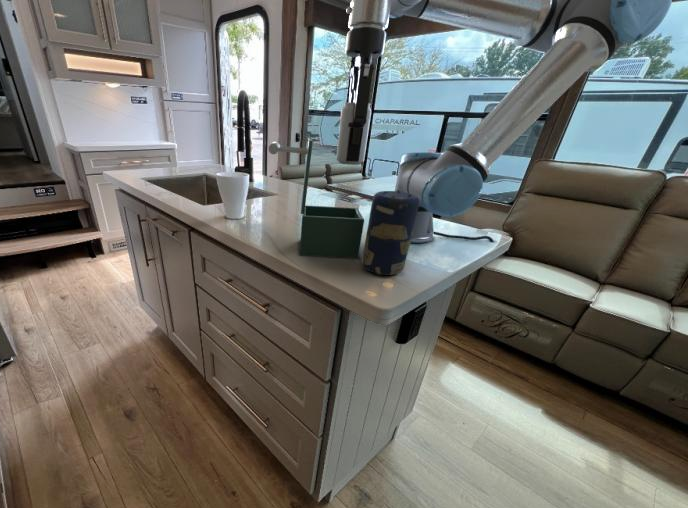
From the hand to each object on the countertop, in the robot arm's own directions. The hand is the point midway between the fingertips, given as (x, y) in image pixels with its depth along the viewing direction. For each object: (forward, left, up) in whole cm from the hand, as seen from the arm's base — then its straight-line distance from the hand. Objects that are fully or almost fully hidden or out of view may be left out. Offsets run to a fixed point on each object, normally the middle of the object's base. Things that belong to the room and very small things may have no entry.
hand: (350, 159), depth 73 cm
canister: (-9, +12, -22) cm, 27 cm away
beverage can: (0, 0, -1) cm, 1 cm away
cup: (+33, -26, -22) cm, 47 cm away
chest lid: (+9, 0, -4) cm, 10 cm away
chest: (+3, 0, -22) cm, 22 cm away
